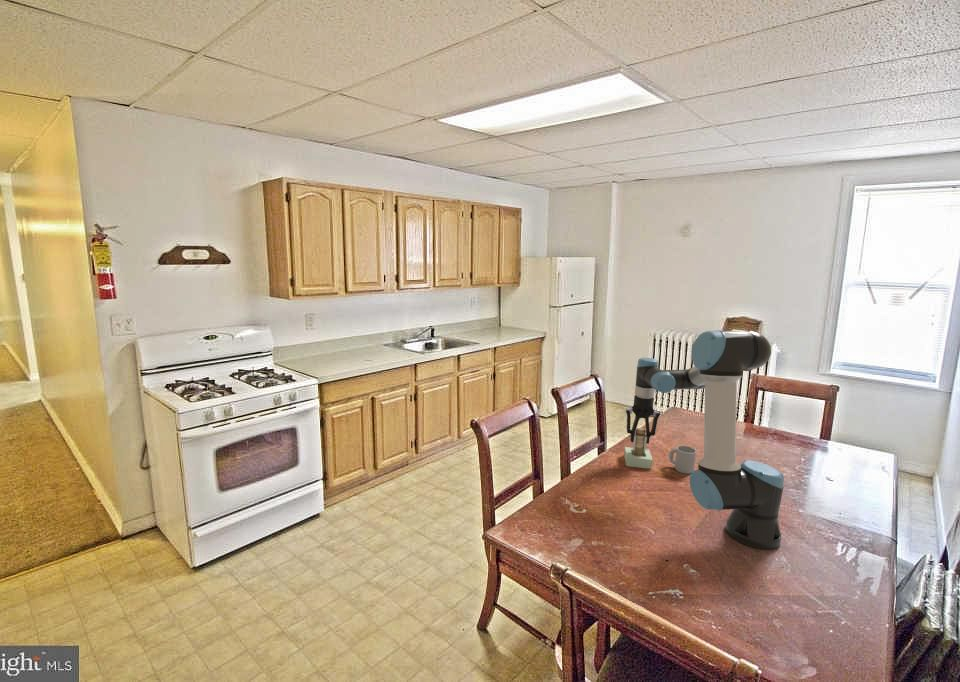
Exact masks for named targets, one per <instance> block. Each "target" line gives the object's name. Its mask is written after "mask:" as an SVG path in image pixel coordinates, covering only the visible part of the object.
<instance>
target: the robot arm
mask: <svg viewBox="0 0 960 682" xmlns="http://www.w3.org/2000/svg"><path fill="white" fill-rule="evenodd" d="M696 337H697V338H695V339H694V342H693V344H692V347H691V353H690V354H691V355H690V356H691V357H690V358H691V361H692V362H693V363H692V364H693V366H692V367H690V368H687V369H661V368H658V367H659V366H658V365H659V364H658V362H659V361H658V360H657V359H655V358H653V357H640V358H638V359H637V360H638V361H637V366H636V373H635V374H636V375H635V388H634V398H633V405H632V407H630V408H625V413H626V433H627V434H629V435H630V442H631V443H632V447H631V448H632V449H633V451H635V444H636V429H637V428H638V424H639V421H640V419H644V425H645V439H644V448H643V452H645V451H646V449H647V444H649V443H650V438H651V437H652V436H653V437H654V436H656V431H657V430H656V429H657V424H658V419H659V418H660V415H661V413H660V412H659V411H656V410H655V409H654V401H655V398H654V397H655V392H656V391H658V392H660V393H663V394H668V393H669V392H672V391H673V390H702V389H703V390H704V415H703V416H704V419H703V421H704V422H703V425H704V430H703V433H704V434H703V435H704V436H703V457H702V458H700V460H698V462H697V463H698V465H697V466H698V467H697V469H696V470H695V469H694V471H693V472H692V473H691V474H689V475H690V476H689V487H690V491H691V494H692V496H693V497H694V500H695V501H696V502H697V504H698V505H699V506H700V507H702V508H703V509H705V510H710V511H711V510H712V511H724V510H725V511H726V510H731V512H730V514H729V516H728V517H727V519H726V523H725V530H726V532H727V534H728V535H729V536H730V537H732V538H733V539H734V540H736V541H737V542H739V543H741V544H743V545H746V546H747V547H751V548H754V549H758V550H759V549H761V550H773V549H777V548H779V546H781V542H782V541H781V540H782V533H781V528H780V523H779V519H778V518H779V512H780V506H781V502H782V498H783V491H784V489H785V488H784V484H785V483H784V481H785V479H784V478H785V477H784V475H783V474H782V472H781V471H779V470H778V469H777V468H774V467H773V466H770V465H769V464H766V463H763V462H760V461H756V460H749V459H748V460H744V461H742V462H741V464H739V463H738V462H737V461H736V452H737V449H736V447H737V445H736V442H737V440H736V439H737V438H736V437H737V394H738V393H737V387H738V385H737V384H738V383H737V382H738V381H739V380H740V379H741V378H742V377H743V373H744V372H750V371H752V370H756V369H759V368H760V367H761V368H762V367H763V366H765V365H766V364H767V363H768V361H769V360H770V358H771V356H772V347H771V343H770V342H769V340H768V339H767V338H766V337H765V336H764V335H762V334H761V333H759V332H756V331H754V330H753V331H752V330H718V329H716V330H708V331H707V330H706V331H704V332H702V333H700V334H699V335H698V336H696ZM632 413H634V415H635V416H634V420H633V423H632V427H631V422H632V421H631V415H632ZM652 415H653V418H652V425H651V429H650V416H652Z"/></svg>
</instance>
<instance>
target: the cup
mask: <svg viewBox="0 0 960 682" xmlns="http://www.w3.org/2000/svg"><path fill="white" fill-rule="evenodd" d="M675 453H676V454H675ZM674 454H675V459H674ZM696 457H697V449H695V448H693V447H691V446H689V445H688V446H687V445H678V446H676V448H672V449H671V450H670V451H669V452H668V458H669V461H670V463H671V464H672V465H674V469H675V470H676V471H677V472H678V473H681V474H685V475H686V474H687V475H691V474H692V472H693V471H695V465H696Z"/></svg>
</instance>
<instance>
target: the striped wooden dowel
mask: <svg viewBox="0 0 960 682" xmlns="http://www.w3.org/2000/svg"><path fill="white" fill-rule="evenodd" d="M635 433H636V444H635V451H634V456H643V448H644V439H645V434H646V429H644V428H640V427H639V428H638V427H637V428H636V431H635Z"/></svg>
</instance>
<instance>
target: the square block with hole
mask: <svg viewBox="0 0 960 682" xmlns="http://www.w3.org/2000/svg"><path fill="white" fill-rule="evenodd" d="M623 457H624V461H625V462H624V463H625V466H626V467H631V468H641V469H649V470H652V468H653V461H654V459H653V457H652V453H651V450H650V449H648V448H646V451H645V452H643V456H634V451H633V449H632V447H631V446H630V447H627V446H624V452H623Z"/></svg>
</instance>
